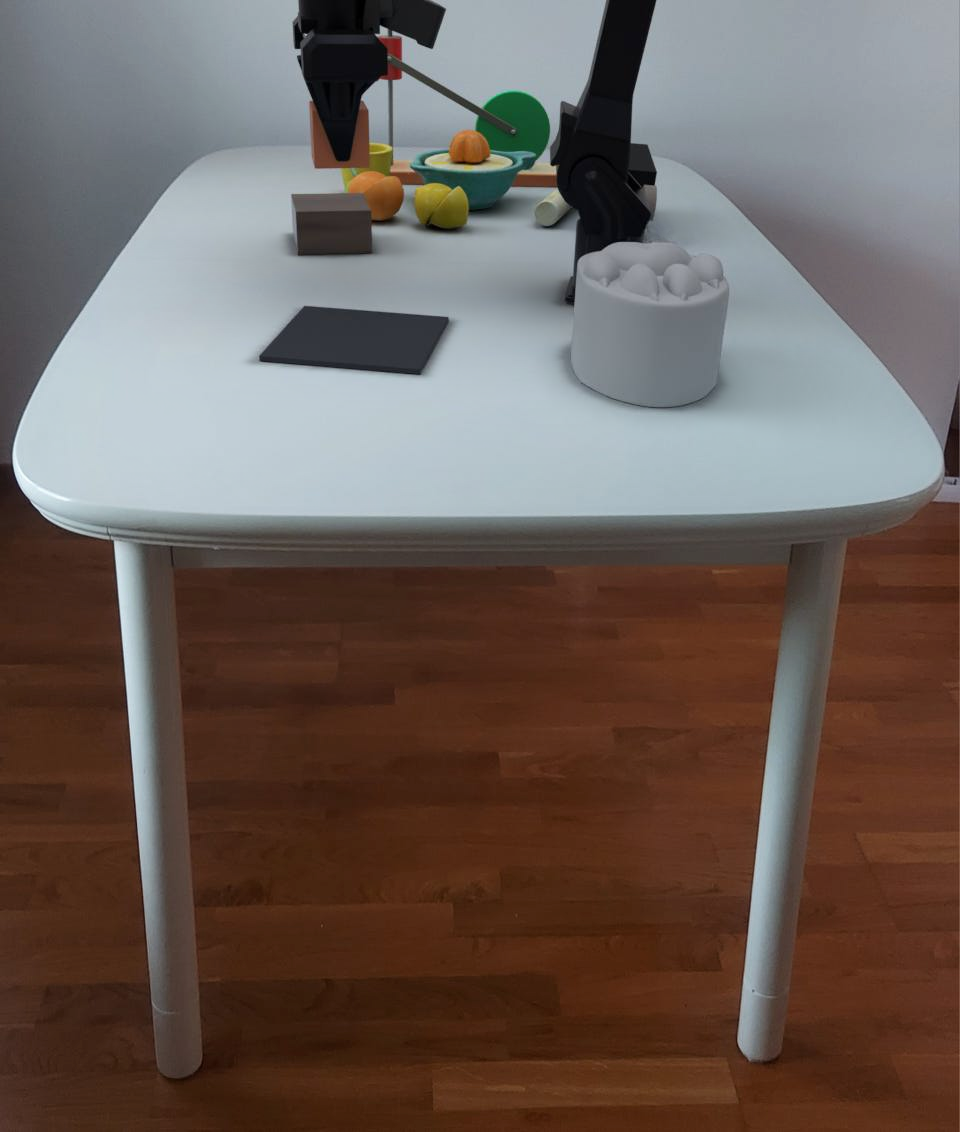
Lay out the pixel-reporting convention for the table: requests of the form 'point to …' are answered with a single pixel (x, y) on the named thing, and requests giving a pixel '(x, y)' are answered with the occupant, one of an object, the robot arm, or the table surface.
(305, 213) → the base block
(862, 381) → the table surface
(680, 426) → the table surface
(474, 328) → the table surface
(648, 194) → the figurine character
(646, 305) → the lumpy-topped squat cylinder
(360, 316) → the mat
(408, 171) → the crank mechanism
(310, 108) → the top block
